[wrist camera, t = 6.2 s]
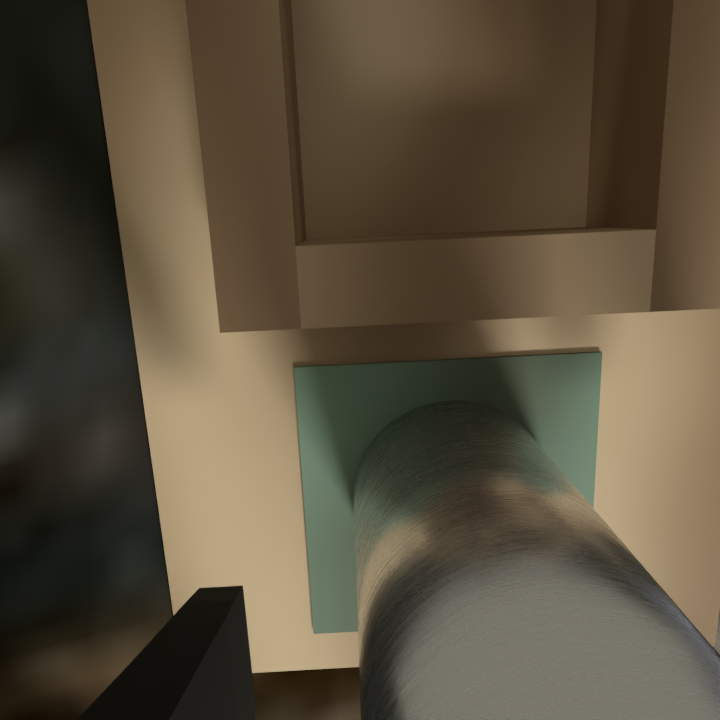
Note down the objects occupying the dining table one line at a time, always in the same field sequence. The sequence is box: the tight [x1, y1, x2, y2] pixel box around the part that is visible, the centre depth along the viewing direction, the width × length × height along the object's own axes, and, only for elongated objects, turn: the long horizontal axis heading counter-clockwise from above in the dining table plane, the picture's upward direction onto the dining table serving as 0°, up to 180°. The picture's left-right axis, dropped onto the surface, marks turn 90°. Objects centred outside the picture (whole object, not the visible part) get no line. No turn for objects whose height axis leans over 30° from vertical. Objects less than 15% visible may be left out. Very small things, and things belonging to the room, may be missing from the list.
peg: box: [354, 400, 720, 720], centre depth 8 cm, size 4×4×8 cm
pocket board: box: [87, 0, 720, 673], centre depth 10 cm, size 12×18×3 cm, turn 3°
